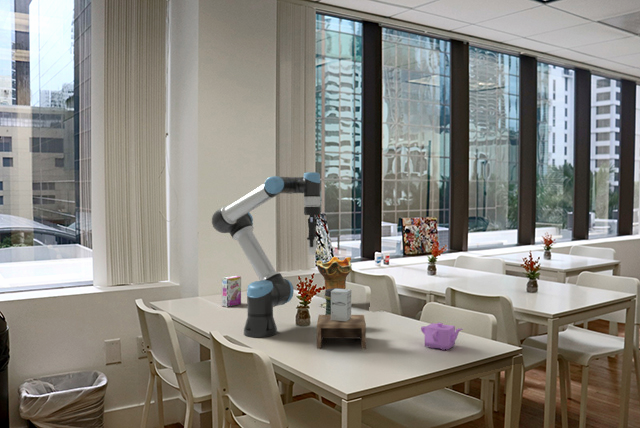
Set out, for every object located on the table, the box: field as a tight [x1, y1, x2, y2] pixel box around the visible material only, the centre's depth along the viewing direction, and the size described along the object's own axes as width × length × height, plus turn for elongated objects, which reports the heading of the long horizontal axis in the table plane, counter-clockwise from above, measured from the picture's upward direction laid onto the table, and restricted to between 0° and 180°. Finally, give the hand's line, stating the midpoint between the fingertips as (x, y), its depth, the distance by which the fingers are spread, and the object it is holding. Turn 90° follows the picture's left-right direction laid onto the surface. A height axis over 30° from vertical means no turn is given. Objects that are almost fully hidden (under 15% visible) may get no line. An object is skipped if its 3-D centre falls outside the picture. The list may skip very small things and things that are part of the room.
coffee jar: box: [324, 288, 342, 315], centre depth 261 cm, size 10×8×19 cm
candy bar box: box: [221, 275, 242, 307], centre depth 313 cm, size 11×5×16 cm, turn 144°
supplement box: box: [331, 288, 352, 322], centre depth 232 cm, size 7×7×13 cm
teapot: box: [420, 322, 463, 351], centre depth 224 cm, size 18×14×10 cm
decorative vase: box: [316, 256, 353, 309], centre depth 310 cm, size 21×23×28 cm
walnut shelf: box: [316, 314, 367, 350], centre depth 233 cm, size 20×18×10 cm
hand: (312, 252), depth 249 cm, fingers open, 13 cm apart
